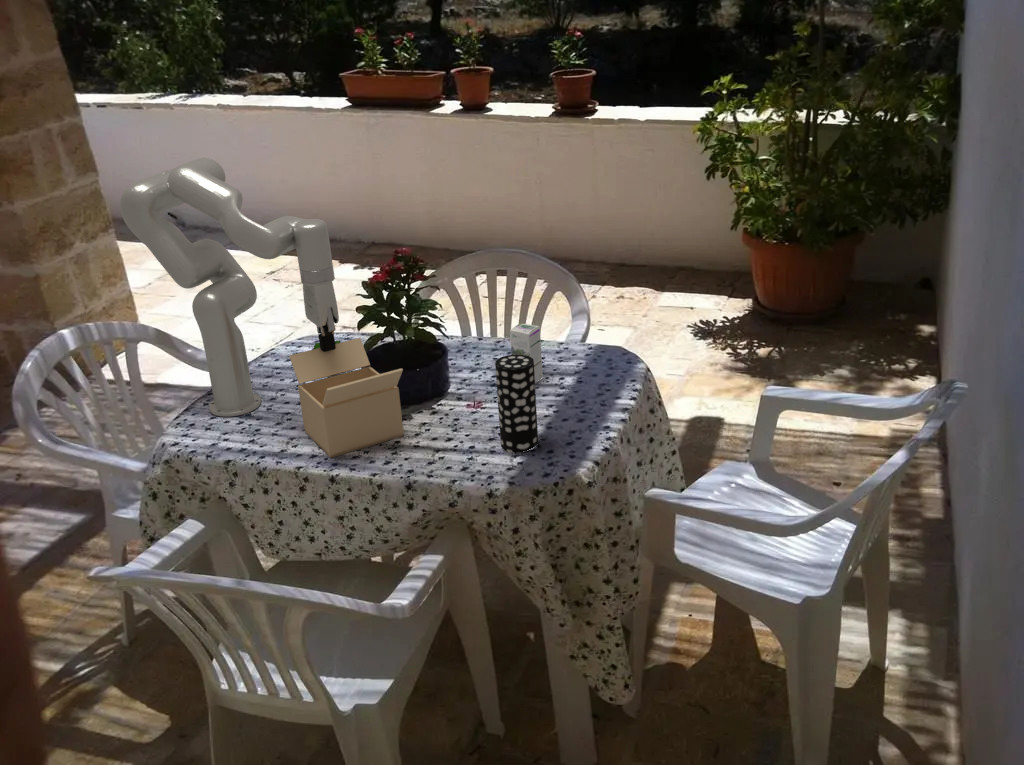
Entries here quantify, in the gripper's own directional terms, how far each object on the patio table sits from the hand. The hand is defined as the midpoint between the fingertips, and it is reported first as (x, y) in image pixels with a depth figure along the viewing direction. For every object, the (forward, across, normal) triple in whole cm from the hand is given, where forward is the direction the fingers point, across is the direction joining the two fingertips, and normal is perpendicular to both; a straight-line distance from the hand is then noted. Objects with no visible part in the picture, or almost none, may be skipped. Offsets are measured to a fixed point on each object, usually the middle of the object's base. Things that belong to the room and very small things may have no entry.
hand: (328, 349), depth 244 cm
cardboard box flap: (+3, +20, 0) cm, 20 cm away
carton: (+18, +10, 0) cm, 21 cm away
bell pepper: (+18, -29, +10) cm, 35 cm away
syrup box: (+18, +9, +48) cm, 52 cm away
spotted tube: (+18, +38, +28) cm, 51 cm away
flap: (+2, +1, 0) cm, 3 cm away
